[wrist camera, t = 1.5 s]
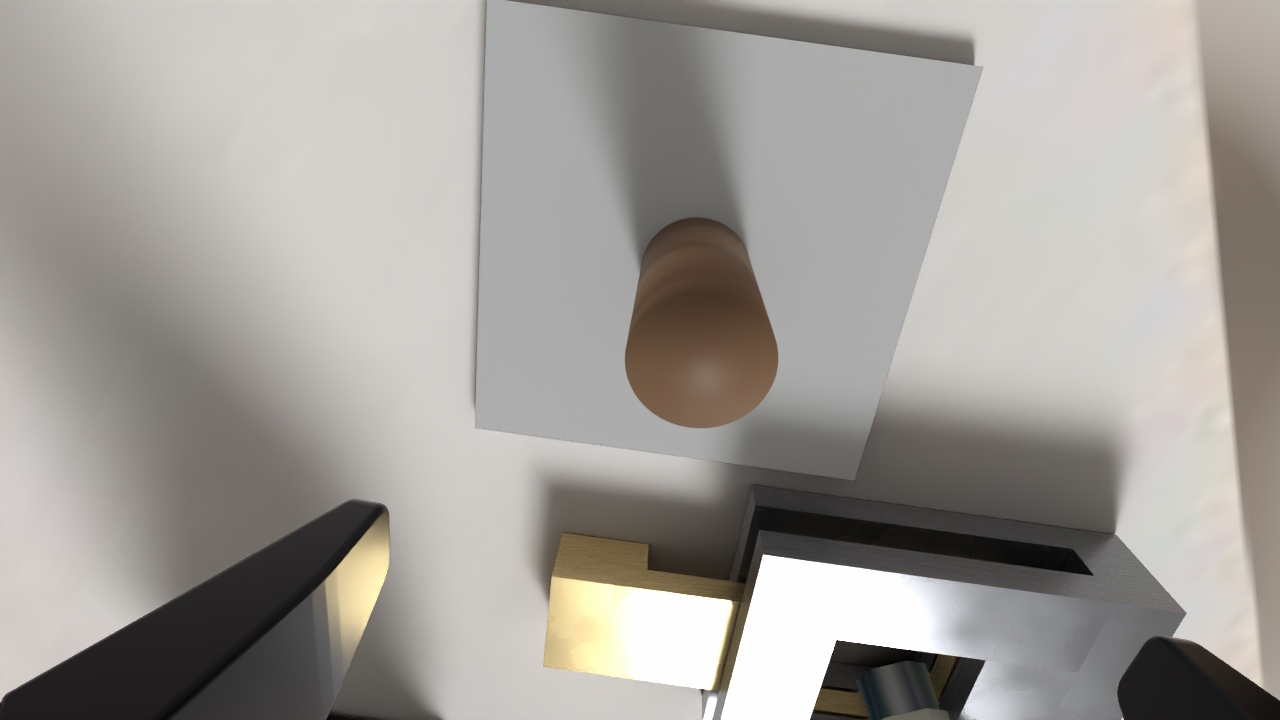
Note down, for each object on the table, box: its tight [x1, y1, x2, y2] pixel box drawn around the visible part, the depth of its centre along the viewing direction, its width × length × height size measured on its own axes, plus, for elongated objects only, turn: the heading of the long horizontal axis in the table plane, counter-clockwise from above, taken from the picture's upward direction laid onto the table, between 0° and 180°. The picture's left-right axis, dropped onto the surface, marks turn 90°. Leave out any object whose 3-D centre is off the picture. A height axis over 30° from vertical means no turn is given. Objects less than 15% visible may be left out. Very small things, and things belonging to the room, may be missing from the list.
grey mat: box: [475, 0, 983, 481], centre depth 19 cm, size 12×12×1 cm
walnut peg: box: [625, 217, 778, 428], centre depth 16 cm, size 3×3×6 cm
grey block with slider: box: [543, 485, 1186, 720], centre depth 23 cm, size 18×10×3 cm, turn 83°
